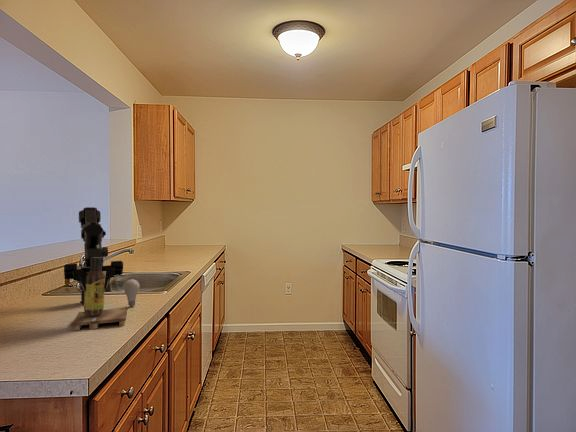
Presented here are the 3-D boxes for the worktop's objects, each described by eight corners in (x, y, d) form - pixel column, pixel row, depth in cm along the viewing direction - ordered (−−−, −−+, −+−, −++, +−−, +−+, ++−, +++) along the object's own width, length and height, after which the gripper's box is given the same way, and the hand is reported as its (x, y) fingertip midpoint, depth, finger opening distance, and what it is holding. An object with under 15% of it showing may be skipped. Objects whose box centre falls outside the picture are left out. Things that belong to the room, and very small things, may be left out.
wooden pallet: (72, 330, 128) (72, 322, 128) (78, 319, 141) (78, 312, 141) (125, 325, 134) (125, 318, 134) (127, 314, 147) (127, 307, 147)
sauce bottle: (95, 317, 133) (97, 258, 133) (79, 315, 134) (81, 257, 134) (107, 312, 139) (109, 256, 139) (92, 311, 140) (93, 255, 140)
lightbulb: (126, 309, 154) (126, 281, 154) (121, 306, 159) (121, 279, 159) (142, 306, 158) (142, 279, 158) (136, 303, 163) (136, 277, 163)
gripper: (63, 240, 135) (63, 278, 126) (122, 238, 144) (126, 273, 135) (64, 260, 142) (64, 297, 133) (120, 257, 151) (124, 291, 142)
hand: (95, 289), depth 135 cm, fingers closed on sauce bottle, 6 cm apart
